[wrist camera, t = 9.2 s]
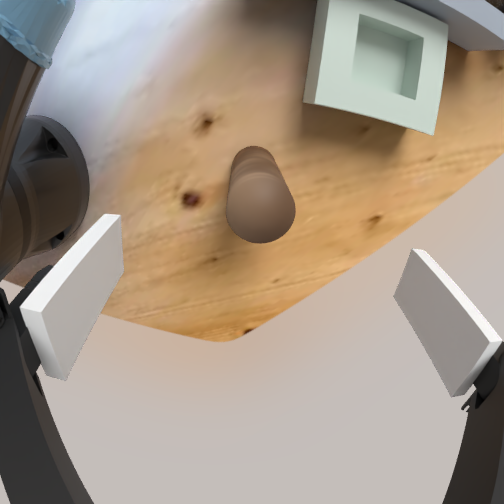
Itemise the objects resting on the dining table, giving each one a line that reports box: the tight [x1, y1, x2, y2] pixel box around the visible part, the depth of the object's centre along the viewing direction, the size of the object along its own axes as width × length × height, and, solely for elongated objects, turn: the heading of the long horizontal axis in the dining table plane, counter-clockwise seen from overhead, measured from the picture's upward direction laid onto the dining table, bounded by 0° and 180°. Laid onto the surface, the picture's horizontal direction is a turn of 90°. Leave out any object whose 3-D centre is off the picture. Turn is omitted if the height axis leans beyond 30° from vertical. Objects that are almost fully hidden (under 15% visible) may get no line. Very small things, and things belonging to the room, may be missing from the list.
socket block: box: [303, 0, 449, 136], centre depth 22 cm, size 11×11×5 cm
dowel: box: [226, 146, 295, 243], centre depth 23 cm, size 4×4×12 cm
